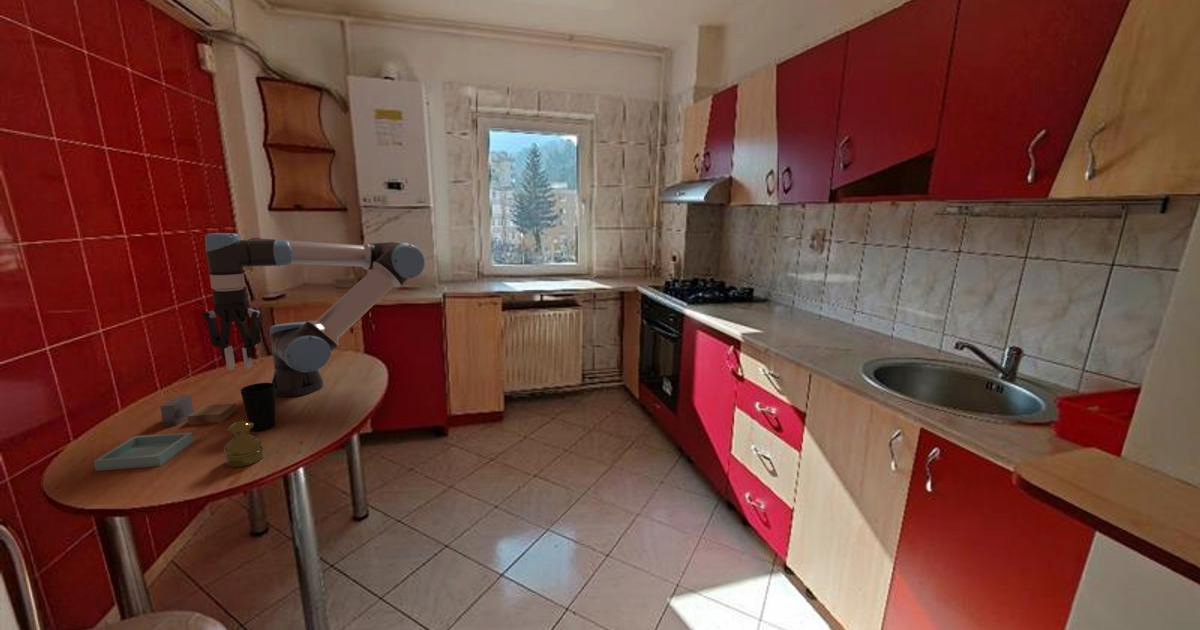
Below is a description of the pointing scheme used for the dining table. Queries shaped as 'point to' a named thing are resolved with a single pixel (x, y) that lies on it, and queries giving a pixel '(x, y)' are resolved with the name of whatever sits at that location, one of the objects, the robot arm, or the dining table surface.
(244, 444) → the olive yellow vase
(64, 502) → the dining table surface
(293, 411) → the dining table surface
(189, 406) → the block
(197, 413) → the tan square block
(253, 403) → the cup
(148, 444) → the tray
